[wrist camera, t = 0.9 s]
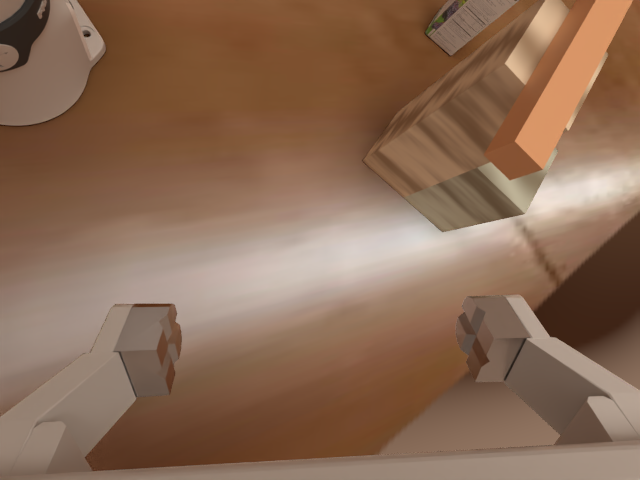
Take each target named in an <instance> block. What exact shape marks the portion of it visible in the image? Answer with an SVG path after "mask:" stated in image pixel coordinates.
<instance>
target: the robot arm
mask: <svg viewBox="0 0 640 480" xmlns="http://www.w3.org/2000/svg"><path fill="white" fill-rule="evenodd" d="M85 34H89V35H91V36H90V37H84V35H85ZM105 51H106V46H105V43H104V41H103V39H102V37H101V36H100V34H99V33H98V31H97V30H96V28H95V27H94V25H93V24H92V22H91V21H90V19H89V18H88V16H87V15H86V13H85V12H84V10H83V9H82V8H81V6H80V5H79V3H78V2H77V0H0V124H1V125H12V126H22V125H31V124H37V123H41V122H44V121H47V120H50V119H52V118H55V117H57V116H59V115H60V114H62V113H64V112H65V111H66V110H68V109H69V108H70V107H71V106H72V105H73V104H74V103H75V102H76V101H77V100H78V98H79V97H80V96H81V94H82V92H83V90H84V88H85V86H86V83H87V79H88V76H89V73H90V70H91V68H92V67H93V66H94V65H95V64H96V63H97V62H98V61H99V60H100V58H101V57H102V56H103V55H104V53H105ZM462 307H463V310H464V313H463V314H461V315H460V316H459V317H458V319H457V323H456V338H457V342H458V344H459V347H460V349H461V350H462V351H463V352H465V353H466V354H467V355H469V356H468V359H467V361H466V363H467V365H468V367H469V370H470V372H471V374H472V376H473V378H474V381H475V382H504V383H505V384H506V385H507V386H508V387H509V388H510V389H511V390H512V391H513V392H514V393H516V394H517V395H518V396H519V397H520V398H521V399H522V400H523V401H524V402H525V403H526V404H527V405H528V406H529V407H531V408H532V409H533V410H534V411H535V412H536V413H537V414H538V415H539V416H540V417H541V418H542V419H543V420H545V421H546V422H547V423H548V424H549V425H550V426H551V427H552V428H553V429H554V430H556V432H558V433H559V434H560V435H561V436H560V437H559V438H558V440H557V441H556V443H555V444H554V445H545V446H526V447H508V448H492V449H475V450H456V451H440V452H421V453H404V454H387V455H369V456H352V457H334V458H317V459H300V460H282V461H265V462H247V463H230V464H212V465H195V466H177V467H159V468H142V469H124V470H107V471H92V469H91V467H90V466H89V464H88V462H87V461H86V459H85V457H86V455H87V454H88V453H89V452H90V451H91V450H92V449H93V448H94V446H95V445H96V444H97V443H98V442H99V441H100V440H101V439H102V437H103V436H104V435H105V434H106V433H107V432H108V431H109V430H110V428H111V427H112V426H113V425H114V424H115V423H116V422H117V421H118V419H119V418H120V417H121V416H122V415H123V414H124V413H125V412H126V410H127V409H128V408H129V407H130V406H131V405H132V404H133V403H134V401H135V400H136V397H149V396H163V395H170V392H171V388H172V384H173V380H174V376H175V370H174V366H173V364H174V363H175V362H176V361H177V360H178V359H179V356H180V352H181V342H182V336H181V329H180V325H179V324H178V323H176V322H175V319H176V316H177V312H176V308H175V305H174V304H115V305H114V306H113V307H112V308H111V309H110V311H109V313H108V316H107V318H106V320H105V322H104V324H103V326H102V328H101V330H100V333H99V335H98V337H97V339H96V341H95V343H94V345H93V347H92V350H91V352H90V353H84V354H82V355H81V356H80V357H78V358H77V359H76V360H74V361H73V362H72V363H71V364H69V365H68V366H67V367H65V368H64V369H63V370H61V371H60V372H59V373H57V374H56V375H55V376H53V377H52V378H51V379H49V380H48V381H47V382H45V383H44V384H43V385H42V386H40V387H39V388H38V389H36V390H35V391H34V392H32V393H31V394H30V395H28V396H27V397H26V398H24V399H23V400H22V401H20V402H19V403H18V404H16V405H15V406H14V407H13V408H11V409H10V410H9V411H7V412H6V413H5V414H3V415H2V416H1V417H0V480H640V390H638V389H637V388H635V387H633V386H632V385H630V384H628V383H627V382H625V381H624V380H622V379H621V378H619V377H617V376H616V375H614V374H613V373H611V372H609V371H608V370H606V369H605V368H603V367H602V366H600V365H598V364H596V363H595V362H594V361H592V360H590V359H589V358H587V357H586V356H584V355H582V354H581V353H579V352H578V351H576V350H574V349H573V348H571V347H570V346H568V345H567V344H565V343H563V342H562V341H560V340H558V339H557V338H550V337H549V335H548V334H547V332H546V330H545V329H544V328H543V326H542V325H541V324H540V322H539V320H538V319H537V317H536V316H535V314H534V313H533V312H532V310H531V309H530V307H529V306H528V304H527V303H526V301H525V300H524V298H523V297H521V296H520V295H501V296H500V295H495V296H467V297H466V298H465V299H464V302H463V304H462Z"/></svg>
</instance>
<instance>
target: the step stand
mask: <svg viewBox="0 0 640 480" xmlns="http://www.w3.org/2000/svg"><path fill="white" fill-rule="evenodd" d="M569 12H570V10H569V9H568V8H567V7H566V6H565V4H564V3H563V2H562V1H561V0H539V1H537V2H536V3H535V4H534V5H532V6H531V7H530V8H529V9H527V10H526V11H525V12H524V13H522V14H521V15H520V16H518V17H517V18H516V19H515V20H513V21H512V22H511V23H510V24H508V25H507V26H506V27H505V28H503V29H502V30H501V31H500V32H498V33H497V34H496V35H494V36H493V37H492V38H491V39H489V40H488V41H487V42H486V43H484V44H483V45H482V46H481V47H479V48H478V49H477V50H476V51H474V52H473V53H472V54H470V55H469V56H468V57H467V58H465V59H464V60H463V61H462V62H460V63H459V64H458V65H457V66H455V67H454V68H453V69H451V70H450V71H449V72H448V73H446V74H445V75H444V76H443V77H441V78H440V79H439V80H438V81H436V82H435V83H434V84H433V85H431V86H430V87H429V88H427V89H426V90H425V91H424V92H422V93H421V94H420V95H419V96H417V97H416V98H415V99H414V100H412V101H411V102H410V103H408V104H407V105H406V106H405V107H403V108H402V109H401V110H400V111H398V112H397V114H396V115H395V116H394V118H393V119H392V121H391V122H390V123H389V125H388V126H387V127H386V129H385V130H384V132H383V133H382V134H381V136H380V137H379V139H378V140H377V141H376V143H375V144H374V145H373V147H372V148H371V150H370V151H369V152H368V154H367V155H366V157H365V158H364V159H363V162H364V163H365V164H366V165H367V166H369V167H370V168H371V169H372V170H373V171H374V172H375V173H376V174H378V175H379V176H380V177H381V178H382V179H383V180H384V181H385V182H387V183H388V184H389V185H390V186H391V187H392V188H393V189H394V190H396V191H397V192H398V193H399V194H400V195H401V196H402V197H403V198H405V199H406V200H407V201H408V202H409V203H410V204H411V205H413V206H414V207H415V208H416V209H417V210H418V211H419V212H420V213H422V214H423V215H424V216H425V217H426V218H427V219H428V220H429V221H431V222H432V223H433V224H434V225H435V226H436V227H437V228H438V229H440V230H441V231H442V232H446V231H450V230H455V229H459V228H464V227H468V226H473V225H477V224H482V223H486V222H491V221H495V220H500V219H504V218H509V217H513V216H518V215H522V214H525V213H526V211H527V209H528V208H529V206H530V204H531V202H532V200H533V198H534V196H535V194H536V192H537V190H538V188H539V187H540V185H541V183H542V181H543V179H544V177H545V175H546V173H547V171H548V169H549V167H550V166H551V164H552V162H553V160H554V158H555V156H556V154H557V152H558V150H557V149H556V148H554V150H553V152H552V154H551V156H550V157H549V159H548V161H547V163H546V165H545V167H544V169H543V170H540V171H537V172H534V173H531V174H528V175H525V176H522V177H519V178H516V179H513V180H509V179H508V178H507V177H506V176H505V175H504V174H503V173H502V172H501V171H500V170H499V169H498V168H496V167H495V166H494V165H493V164H492V163H491V162H490V161H489V160H488V159H487V158H486V157H485V156H484V153H485V151H486V150H487V148H488V146H489V145H490V143H491V141H492V140H493V138H494V136H495V135H496V133H497V131H498V130H499V128H500V126H501V125H502V123H503V121H504V120H505V118H506V116H507V115H508V113H509V111H510V110H511V108H512V106H513V105H514V103H515V101H516V100H517V98H518V96H519V95H520V93H521V91H522V90H523V88H524V86H525V85H526V83H527V81H528V80H529V78H530V76H531V75H532V73H533V71H534V70H535V68H536V67H537V65H538V63H539V62H540V60H541V58H542V57H543V55H544V53H545V52H546V50H547V48H548V47H549V45H550V43H551V42H552V40H553V38H554V37H555V35H556V33H557V32H558V30H559V28H560V27H561V25H562V23H563V22H564V20H565V18H566V17H567V15H568V13H569ZM607 56H608V54H607V53H606V52H605V54H604V56H603V57H602V59H601V61H600V63H599V65H598V67H597V69H596V71H595V73H594V74H593V76H592V78H591V80H590V82H589V84H588V86H587V88H586V90H585V91H584V93H583V95H582V97H581V99H580V101H579V103H578V105H577V107H576V108H575V110H574V112H573V114H572V116H571V118H570V120H569V122H568V123H567V125H566V127H565V129H564V131H563V133H564V132H566V131H568V130H569V129H570V127H571V125H572V123H573V121H574V119H575V117H576V115H577V113H578V111H579V110H580V108H581V106H582V104H583V102H584V100H585V98H586V96H587V94H588V92H589V90H590V89H591V87H592V85H593V83H594V81H595V79H596V77H597V75H598V73H599V71H600V70H601V68H602V66H603V64H604V62H605V60H606V58H607Z"/></svg>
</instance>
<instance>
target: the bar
mask: <svg viewBox="0 0 640 480" xmlns="http://www.w3.org/2000/svg"><path fill="white" fill-rule="evenodd" d="M632 1H633V0H576V2H575V3H574V5H573V7H572V8H571V10H570V12H569V13H568V15H567V17H566V18H565V20H564V22H563V23H562V25H561V27H560V28H559V30H558V32H557V33H556V35H555V37H554V38H553V40H552V42H551V43H550V45H549V47H548V48H547V50H546V52H545V53H544V55H543V57H542V58H541V60H540V62H539V63H538V65H537V67H536V68H535V70H534V71H533V73H532V75H531V76H530V78H529V80H528V81H527V83H526V85H525V86H524V88H523V90H522V91H521V93H520V95H519V96H518V98H517V100H516V101H515V103H514V105H513V106H512V108H511V110H510V111H509V113H508V115H507V116H506V118H505V120H504V121H503V123H502V125H501V126H500V128H499V130H498V131H497V133H496V135H495V136H494V138H493V140H492V141H491V143H490V145H489V146H488V148H487V150H486V151H485V153H484V156H485V157H486V158H487V159H488V160H489V161H490V162H491V163H492V164H493V165H494V166H495V167H496V168H498V169H499V170H500V171H501V172H502V173H503V174H504V175H505V176H506V177H507V178H508V179H509V180H513V179H516V178H519V177H522V176H525V175H528V174H531V173H534V172H537V171H540V170H543V169H544V167H545V165H546V163H547V161H548V159H549V157H550V156H551V154H552V152H553V150H554V148H555V146H556V144H557V142H558V140H559V139H560V137H561V135H562V133H563V131H564V129H565V127H566V125H567V123H568V122H569V120H570V118H571V116H572V114H573V112H574V110H575V108H576V107H577V105H578V103H579V101H580V99H581V97H582V95H583V93H584V91H585V90H586V88H587V86H588V84H589V82H590V80H591V78H592V76H593V74H594V73H595V71H596V69H597V67H598V65H599V63H600V61H601V59H602V57H603V56H604V54H605V52H606V50H607V48H608V46H609V44H610V42H611V41H612V39H613V37H614V35H615V33H616V31H617V29H618V27H619V25H620V24H621V22H622V20H623V18H624V16H625V14H626V12H627V10H628V8H629V7H630V5H631V3H632Z"/></svg>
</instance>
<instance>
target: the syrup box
mask: <svg viewBox="0 0 640 480" xmlns="http://www.w3.org/2000/svg"><path fill="white" fill-rule="evenodd" d="M518 1H519V0H448V1H447V2H446V4H445V5H444V6H443V7H442V8H441V9H440V10H439V11H438V13H437V14H436V15H435V17H434V19H433V20H432V22H431V23H430V25H429V27H428V28H427V30H426V32H425V34H426V35H427V36H428V37H429V38H431V39H432V40H433V41H434V42H435V43H436V44H437V45H439V46H440V47H441V48H442V49H443V50H444V51H445V52H447V53H448V54H449V55H450V56H452V55H453V54H454V53H455V52H457V51H458V50H459V49H460V48H461V47H463V46H464V45H465V44H466V43H468V42H469V41H470V40H471V39H472V38H474V37H475V36H476V35H477V34H479V33H480V32H481V31H482V30H483V29H485V28H486V27H487V26H488V25H490V24H491V23H492V22H493V21H495V20H496V19H497V18H498V17H499V16H501V15H502V14H503V13H504V12H506V11H507V10H508V9H509V8H510V7H512V6H513V5H514V4H515V3H516V2H518Z"/></svg>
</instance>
